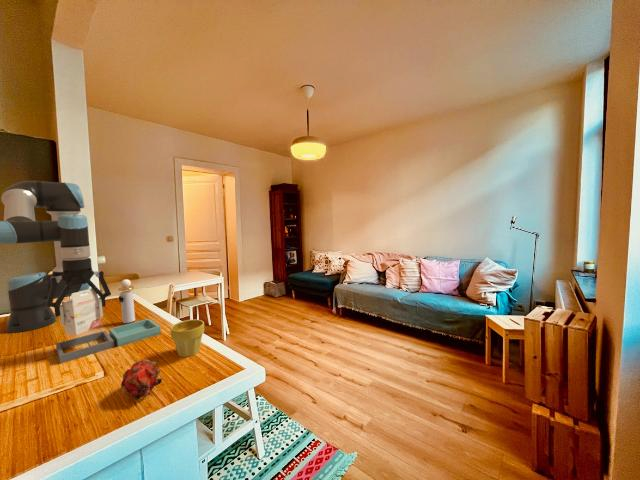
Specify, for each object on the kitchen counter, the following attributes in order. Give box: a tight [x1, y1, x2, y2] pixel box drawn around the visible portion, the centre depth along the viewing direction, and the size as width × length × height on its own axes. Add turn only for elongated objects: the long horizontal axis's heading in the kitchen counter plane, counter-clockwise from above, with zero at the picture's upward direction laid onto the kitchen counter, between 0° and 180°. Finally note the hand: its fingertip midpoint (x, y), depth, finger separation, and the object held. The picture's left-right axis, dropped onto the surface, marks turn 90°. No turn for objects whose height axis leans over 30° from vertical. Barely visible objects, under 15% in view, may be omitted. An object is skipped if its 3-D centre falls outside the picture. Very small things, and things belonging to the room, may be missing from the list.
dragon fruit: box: [120, 358, 164, 400], centre depth 69 cm, size 8×8×12 cm
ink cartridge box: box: [61, 287, 101, 336], centre depth 94 cm, size 9×5×15 cm, turn 168°
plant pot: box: [170, 318, 205, 358], centre depth 90 cm, size 10×10×10 cm
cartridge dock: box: [55, 330, 115, 364], centre depth 94 cm, size 14×14×2 cm
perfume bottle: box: [117, 278, 136, 324], centre depth 118 cm, size 6×6×20 cm
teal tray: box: [108, 318, 162, 348], centre depth 105 cm, size 14×14×3 cm
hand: (82, 319), depth 94 cm, fingers closed on ink cartridge box, 10 cm apart
